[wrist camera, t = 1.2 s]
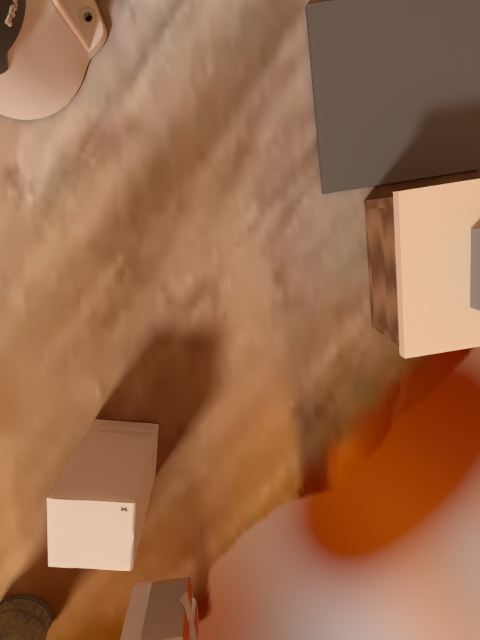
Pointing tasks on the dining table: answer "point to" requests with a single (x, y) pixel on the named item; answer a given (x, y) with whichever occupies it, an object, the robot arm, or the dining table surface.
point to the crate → (382, 266)
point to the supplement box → (103, 497)
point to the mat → (394, 89)
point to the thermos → (24, 618)
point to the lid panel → (438, 267)
